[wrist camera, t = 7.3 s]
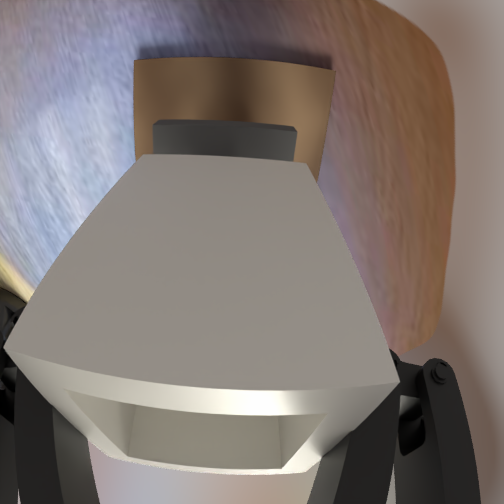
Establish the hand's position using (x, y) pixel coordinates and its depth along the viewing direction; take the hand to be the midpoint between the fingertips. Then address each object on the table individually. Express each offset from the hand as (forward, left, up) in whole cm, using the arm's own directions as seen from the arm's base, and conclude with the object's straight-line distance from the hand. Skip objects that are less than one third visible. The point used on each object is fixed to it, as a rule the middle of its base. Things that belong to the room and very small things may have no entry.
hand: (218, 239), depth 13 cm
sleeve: (0, 0, -1) cm, 1 cm away
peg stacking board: (0, 0, -14) cm, 14 cm away
